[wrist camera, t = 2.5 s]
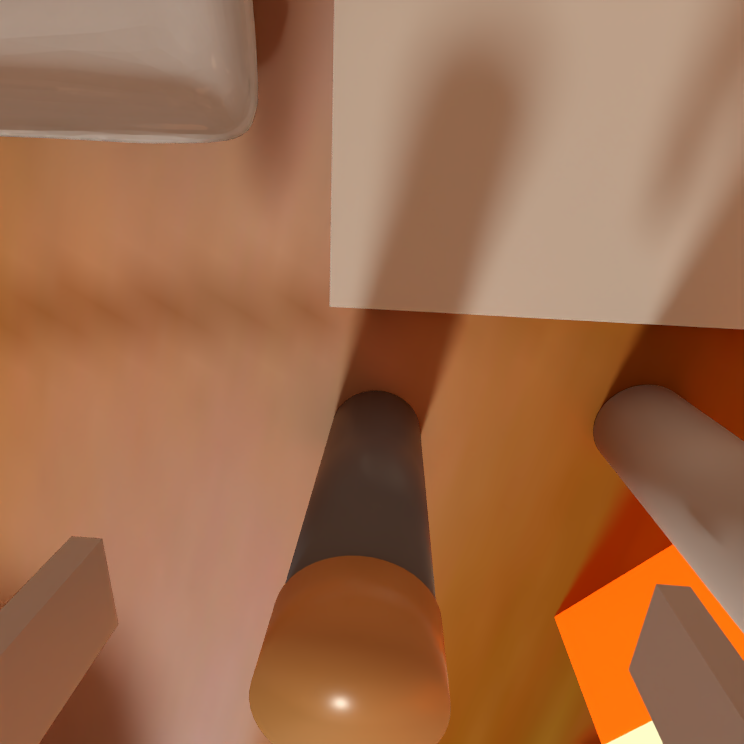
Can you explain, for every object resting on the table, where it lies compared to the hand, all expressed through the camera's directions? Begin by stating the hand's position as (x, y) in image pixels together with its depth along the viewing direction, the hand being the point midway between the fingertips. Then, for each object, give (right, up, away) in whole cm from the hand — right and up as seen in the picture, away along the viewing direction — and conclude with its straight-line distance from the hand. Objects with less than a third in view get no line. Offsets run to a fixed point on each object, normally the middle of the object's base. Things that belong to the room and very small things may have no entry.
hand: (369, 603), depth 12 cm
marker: (0, +3, +9) cm, 10 cm away
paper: (+8, +14, +5) cm, 17 cm away
